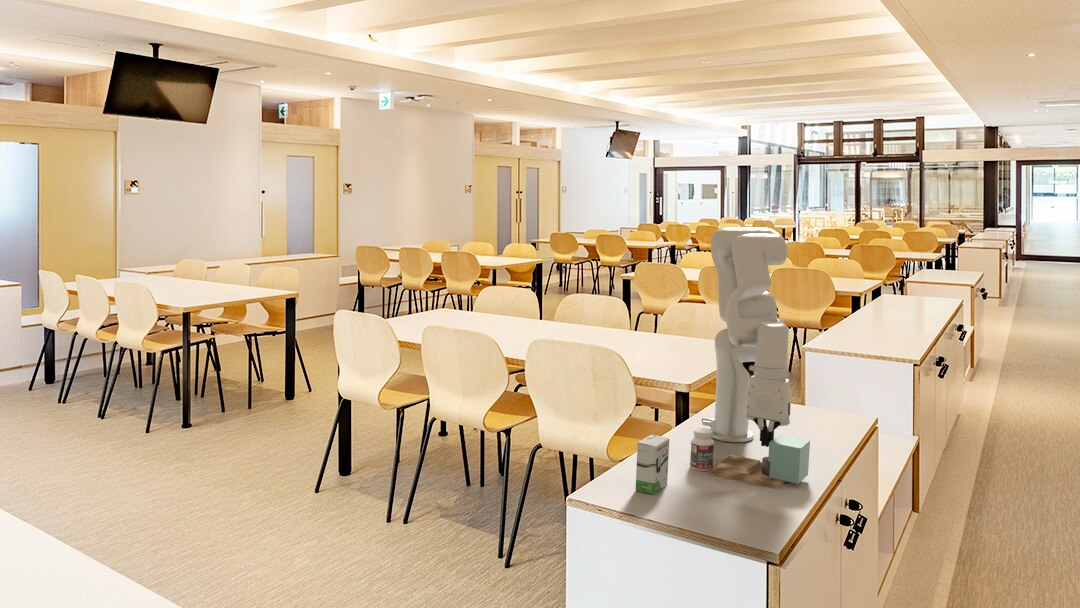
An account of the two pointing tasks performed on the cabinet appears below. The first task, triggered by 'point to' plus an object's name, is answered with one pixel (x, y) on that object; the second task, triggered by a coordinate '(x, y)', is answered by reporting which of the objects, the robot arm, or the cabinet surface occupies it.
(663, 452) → the ink box
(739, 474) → the board
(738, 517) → the cabinet surface
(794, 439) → the mint green block
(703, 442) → the pill bottle
